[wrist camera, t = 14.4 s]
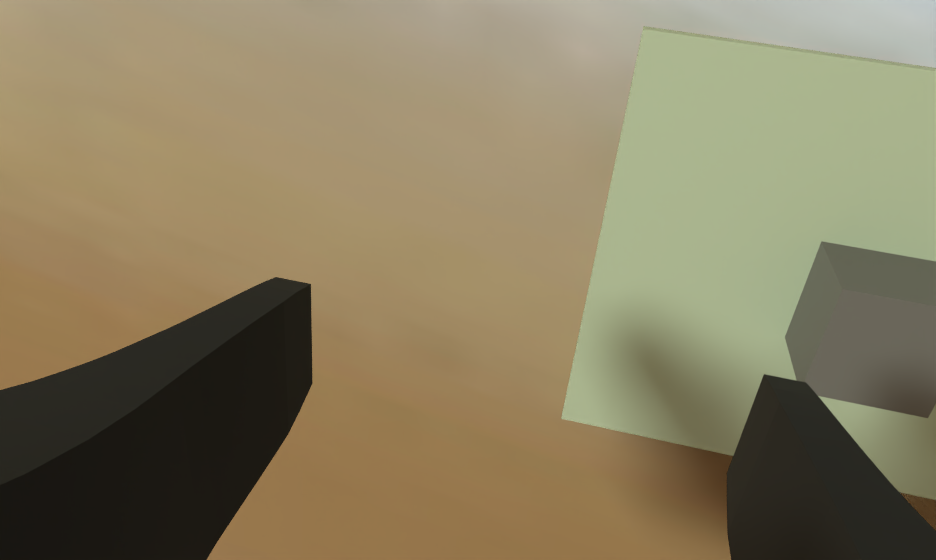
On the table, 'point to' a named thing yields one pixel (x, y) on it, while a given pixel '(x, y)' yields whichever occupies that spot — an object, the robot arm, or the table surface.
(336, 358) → the table surface
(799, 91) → the toolbox lid
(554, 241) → the table surface
